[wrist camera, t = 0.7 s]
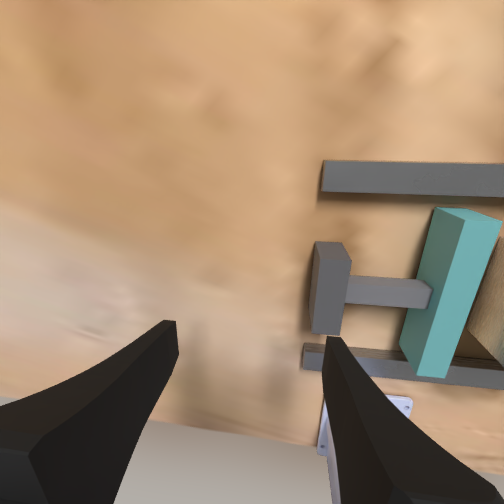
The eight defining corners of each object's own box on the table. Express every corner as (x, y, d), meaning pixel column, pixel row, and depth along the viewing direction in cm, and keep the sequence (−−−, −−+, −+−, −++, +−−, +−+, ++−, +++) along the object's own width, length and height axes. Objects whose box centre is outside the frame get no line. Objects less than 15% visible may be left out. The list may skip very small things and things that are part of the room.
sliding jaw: (422, 345, 23) (444, 378, 20) (305, 335, 24) (308, 364, 21) (465, 208, 19) (502, 221, 16) (319, 203, 20) (325, 214, 17)
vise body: (561, 385, 23) (605, 423, 20) (302, 359, 26) (304, 390, 22) (689, 166, 17) (786, 172, 13) (323, 159, 19) (330, 163, 16)
